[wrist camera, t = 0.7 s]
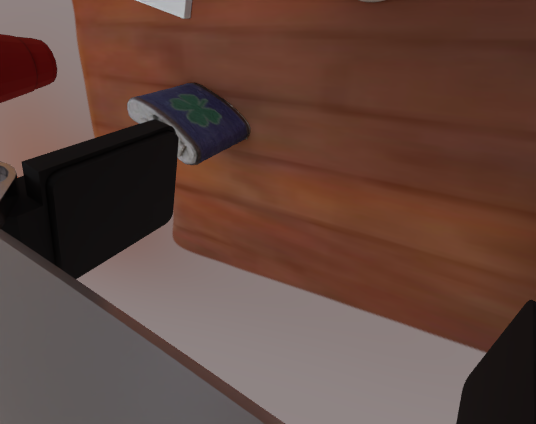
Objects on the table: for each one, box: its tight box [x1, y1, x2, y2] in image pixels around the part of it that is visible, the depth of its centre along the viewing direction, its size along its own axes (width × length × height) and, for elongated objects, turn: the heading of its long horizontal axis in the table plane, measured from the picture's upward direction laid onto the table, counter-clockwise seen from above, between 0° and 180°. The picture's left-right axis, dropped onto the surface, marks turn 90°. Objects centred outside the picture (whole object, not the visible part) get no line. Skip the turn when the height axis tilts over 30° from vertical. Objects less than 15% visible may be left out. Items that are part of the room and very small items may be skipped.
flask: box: [127, 83, 250, 165], centre depth 40 cm, size 9×3×11 cm, turn 62°
